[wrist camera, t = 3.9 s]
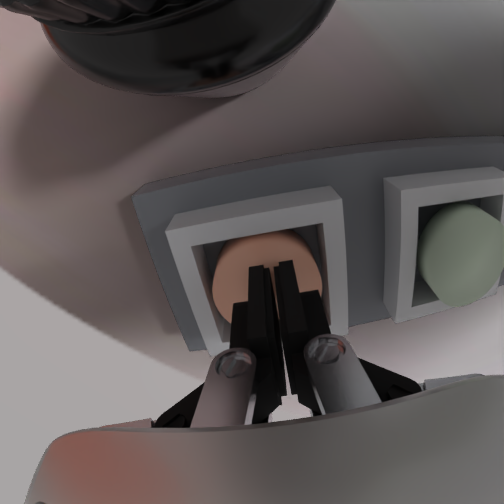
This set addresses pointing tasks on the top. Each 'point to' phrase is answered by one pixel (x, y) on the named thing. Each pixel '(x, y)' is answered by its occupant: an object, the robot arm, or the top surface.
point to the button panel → (320, 224)
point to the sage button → (461, 253)
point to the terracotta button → (261, 253)
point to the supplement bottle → (176, 41)
